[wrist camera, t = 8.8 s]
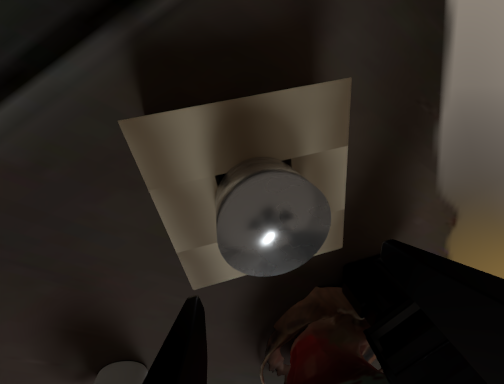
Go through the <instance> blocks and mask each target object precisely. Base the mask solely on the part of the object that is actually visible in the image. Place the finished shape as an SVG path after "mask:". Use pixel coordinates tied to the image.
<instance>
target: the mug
mask: <svg viewBox="0 0 504 384" xmlns="http://www.w3.org/2000/svg"><path fill="white" fill-rule="evenodd" d="M146 375H147V368H146V367H145V366H144V365H143V364H141V363H138V362H134V361H120V362H115V363H112V364H109V365H107V366H105V367H104V368H102V369H101V370H100V372H99V373H98V375H97V377H96V379H95V382H94V384H142V383H143V381H144V379H145V377H146Z"/></svg>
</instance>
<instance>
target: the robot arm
mask: <svg viewBox="0 0 504 384" xmlns="http://www.w3.org/2000/svg"><path fill="white" fill-rule="evenodd" d="M342 293H343V294H344V295H345V297H346V298H347V300H348V301H349V303H350V304H351V305H352V307H353V308H354V310H355V311H356V313H357V314H358V316H359V317H360V318H362V319H363V318H365V319H366V321H367V322H368V324H369V325H370V326H371V327H369V328H368V329H365V330H364V331H363V332H364V334H365V336H366V340H367V342H368V343H369V345H370V347H371V349H372V351H373V352H374V354H375V356H376V358H377V360H378V361H379V363H380V365H381V368H382V370H383V372H384V374H385V377H386V379H387V381H388V382H389V383H390V384H504V279H502V278H500V277H497V276H494V275H491V274H489V273H485V272H483V271H480V270H477V269H474V268H472V267H469V266H466V265H463V264H461V263H458V262H455V261H452V260H450V259H447V258H444V257H441V256H438V255H436V254H433V253H430V252H427V251H425V250H422V249H419V248H416V247H413V246H411V245H408V244H405V243H402V242H399V241H397V240H394V239H390V240H387V241H384V242H383V243H382V247H381V253H380V255H378V256H375V257H372V258H368V259H365V260H361V261H358V262H355V263H351V264H348V265H345V266H344V269H343V282H342ZM142 384H207V341H206V326H205V312H204V307H203V305H202V303H201V300H200V298H199V296H198V295H195V296H192V297H189V298H187V300H186V301H185V303H184V305H183V307H182V309H181V311H180V313H179V315H178V316H177V318H176V320H175V322H174V324H173V326H172V328H171V330H170V332H169V334H168V335H167V337H166V339H165V341H164V343H163V345H162V347H161V349H160V351H159V353H158V354H157V356H156V358H155V360H154V362H153V364H152V366H151V368H150V370H149V372H148V373H147V375H146V377H145V379H144V381H143V383H142Z"/></svg>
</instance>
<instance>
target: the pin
mask: <svg viewBox="0 0 504 384" xmlns="http://www.w3.org/2000/svg"><path fill="white" fill-rule="evenodd" d="M215 211H216V229H217V243H218V248H219V250H220V253H221V255H222V256H223V258H224V259H225V261H226V262H227V263H228V264H229V265H230V266H232V267H233V268H234V269H236V270H238V271H240V272H242V273H244V274H248V275H252V276H260V277H267V276H276V275H280V274H284V273H287V272H289V271H292V270H294V269H296V268H298V267H299V266H301V265H303V264H304V263H306V262H307V261H308V260H309V259H311V258H312V257H313V256H314V255H315V254H316V253H317V252H318V250H319V249H320V248H321V246H322V245H323V243H324V242H325V240H326V238H327V236H328V233H329V230H330V226H331V210H330V206H329V203H328V201H327V199H326V197H325V196H324V194H323V193H322V192H321V191H320V190H319V189H318V188H317V187H316V186H314V185H313V184H312V183H311V182H309V181H308V180H307V179H306V178H304V177H303V176H302V175H301V174H299V173H298V172H297V171H295V170H294V169H293V168H292V167H290V166H289V165H288V164H286V163H285V162H283V161H281V160H278V159H275V158H271V157H256V158H251V159H248V160H245V161H243V162H241V163H239V164H237V165H236V166H234V167H233V168H232V169H230V170H229V171H228V172H227V173H226V174H225V176H224V177H223V178H222V180H221V182H220V183H219V186H218V188H217V191H216V195H215Z"/></svg>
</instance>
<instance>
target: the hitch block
mask: <svg viewBox="0 0 504 384" xmlns="http://www.w3.org/2000/svg"><path fill="white" fill-rule="evenodd" d="M351 80H352V77H351V78H346V79H340V80H334V81H329V82H323V83H317V84H311V85H306V86H301V87H295V88H290V89H285V90H279V91H274V92H268V93H263V94H258V95H252V96H247V97H241V98H236V99H231V100H225V101H220V102H214V103H209V104H204V105H198V106H193V107H187V108H182V109H177V110H171V111H166V112H161V113H155V114H150V115H144V116H139V117H135V118H130V119H125V120H120V121H118V123H119V125H120V128H121V130H122V132H123V134H124V136H125V139H126V141H127V143H128V145H129V148H130V150H131V152H132V154H133V157H134V159H135V161H136V163H137V166H138V168H139V170H140V172H141V174H142V177H143V179H144V181H145V183H146V186H147V188H148V190H149V192H150V195H151V197H152V199H153V201H154V203H155V206H156V208H157V210H158V212H159V215H160V217H161V219H162V221H163V224H164V226H165V228H166V230H167V233H168V235H169V237H170V239H171V241H172V244H173V246H174V248H175V250H176V253H177V255H178V257H179V259H180V262H181V264H182V266H183V268H184V271H185V273H186V275H187V277H188V279H189V282H190V284H191V286H192V288H193V290H196V289H199V288H203V287H206V286H210V285H213V284H217V283H220V282H224V281H227V280H231V279H234V278H238V277H241V276H245V275H248V274H244V273H242V272H240V271H238V270H236V269H234V268H233V267H232V266H230V265H229V264H228V263H227V262H226V261H225V259H224V258H223V256H222V255H221V253H220V250H219V248H218V243H217V229H216V211H215V195H216V191H217V188H218V186H219V183H220V181H219V177H218V175H220V174H225V173H227V172H228V171H229V170H230V169H232V168H233V167H234V166H236V165H237V164H239V163H241V162H243V161H245V160H248V159H251V158H256V157H271V158H275V159H278V160H281V161H283V162H285V163H286V164H288V165H289V166H290V167H292V168H293V169H294V170H295V171H297V172H298V173H299V174H301V175H302V176H303V177H304V178H306V179H307V180H308V181H309V182H311V183H312V184H313V185H314V186H316V187H317V188H318V189H319V190H320V191H321V192H322V193H323V194H324V196H325V197H326V199H327V201H328V203H329V206H330V210H331V226H330V230H329V233H328V236H327V238H326V240H325V242H324V243H323V245H322V246H321V248H320V249H319V250H318V252H317V253H316V254H315V255H319V254H323V253H326V252H330V251H333V250H337V249H340V248H342V246H343V228H344V209H345V191H346V172H347V154H348V136H349V117H350V99H351ZM315 255H314V256H315Z"/></svg>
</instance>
